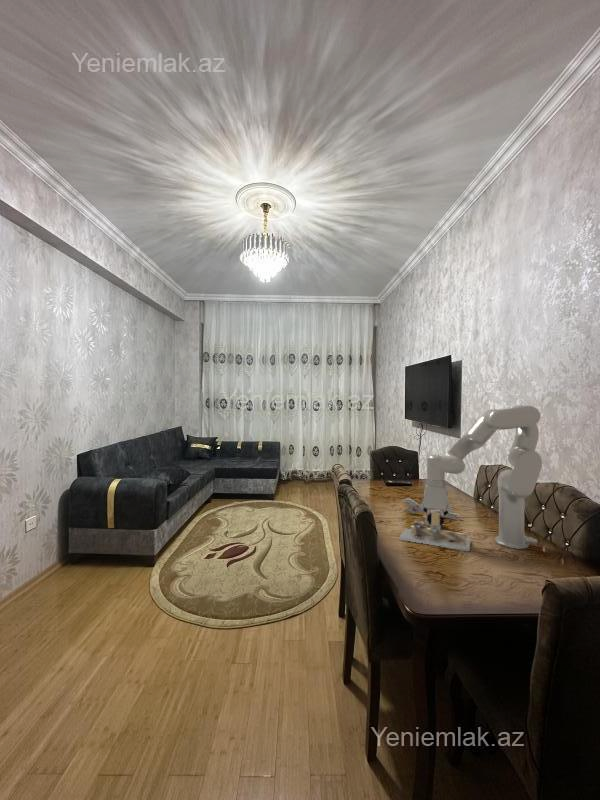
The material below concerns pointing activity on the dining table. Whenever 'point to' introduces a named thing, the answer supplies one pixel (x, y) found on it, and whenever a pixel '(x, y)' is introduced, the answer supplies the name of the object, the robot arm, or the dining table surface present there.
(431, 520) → the cupcake
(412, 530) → the sliding bolt bar
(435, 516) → the block
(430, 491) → the robot arm
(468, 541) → the bolt plate
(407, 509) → the wrench
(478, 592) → the dining table surface
